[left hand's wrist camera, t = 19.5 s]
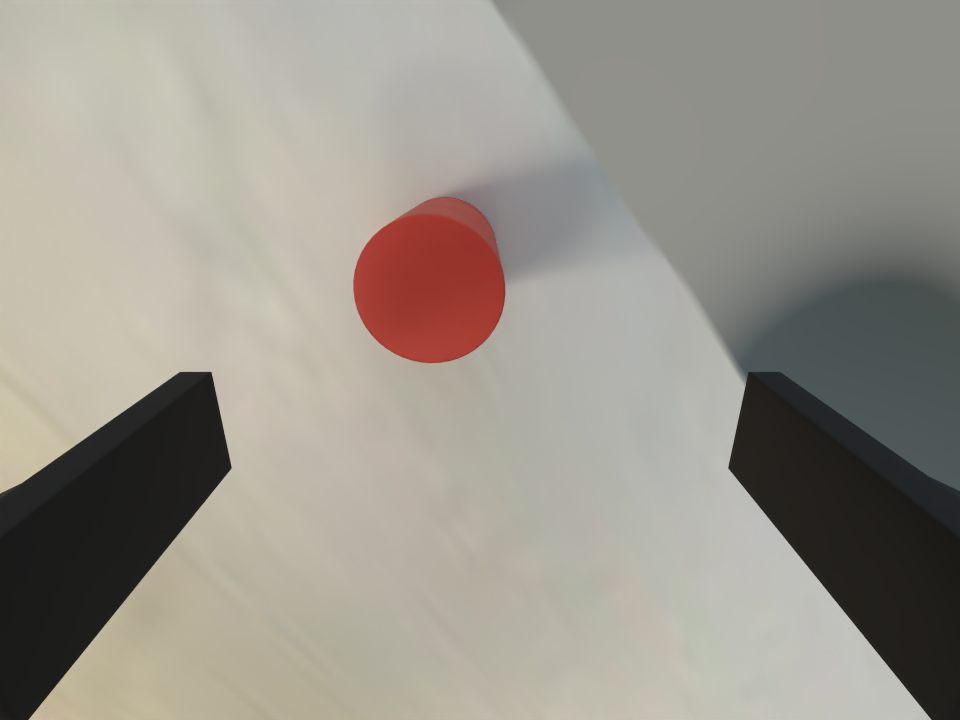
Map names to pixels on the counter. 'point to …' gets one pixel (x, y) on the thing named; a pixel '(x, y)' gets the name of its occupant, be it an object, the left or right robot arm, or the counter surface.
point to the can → (431, 282)
